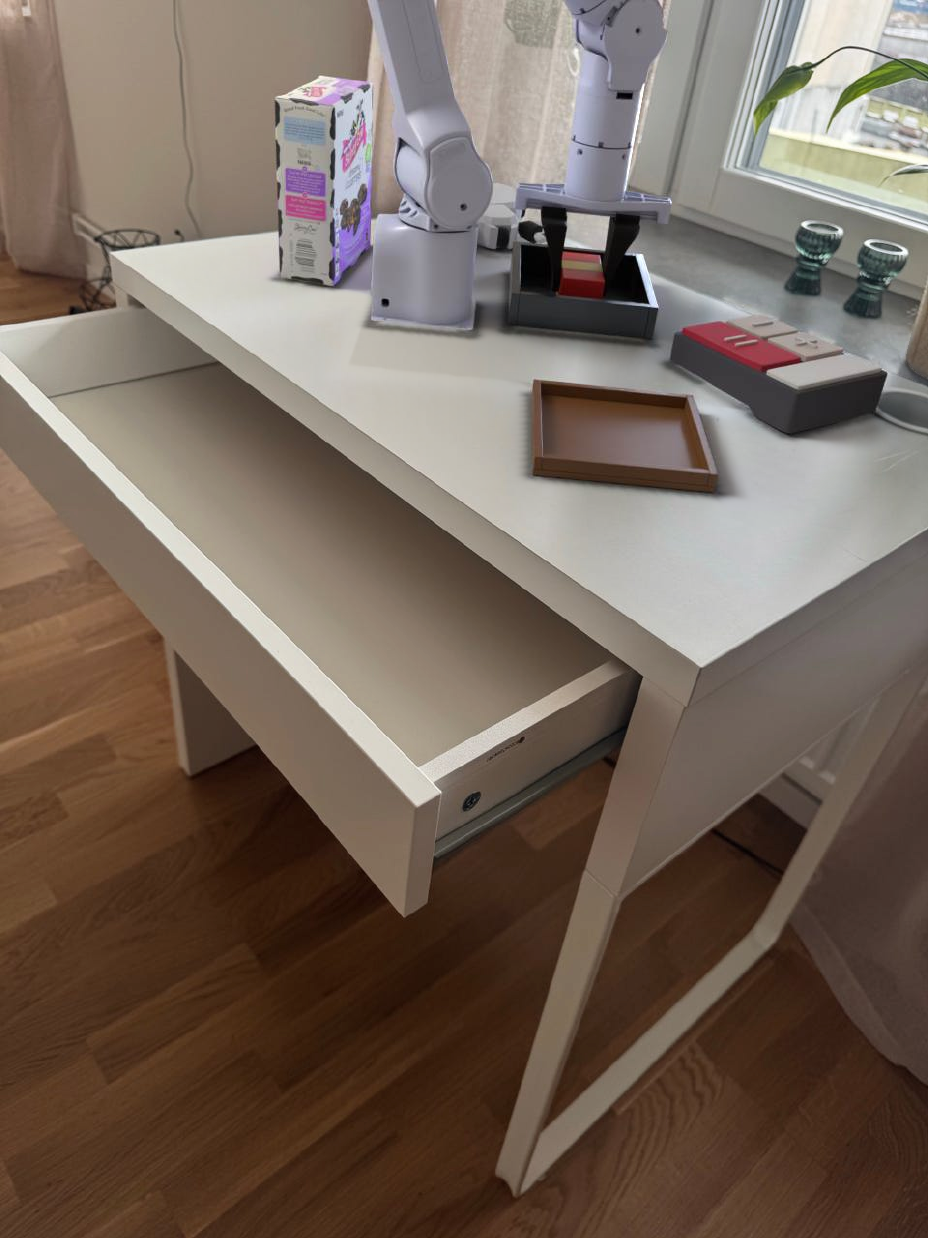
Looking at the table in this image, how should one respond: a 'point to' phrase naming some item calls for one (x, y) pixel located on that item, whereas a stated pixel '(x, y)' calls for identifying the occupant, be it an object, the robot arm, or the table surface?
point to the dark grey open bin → (615, 314)
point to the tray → (619, 436)
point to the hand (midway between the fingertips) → (578, 290)
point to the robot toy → (505, 222)
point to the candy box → (324, 178)
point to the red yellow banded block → (581, 276)
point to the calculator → (780, 371)
